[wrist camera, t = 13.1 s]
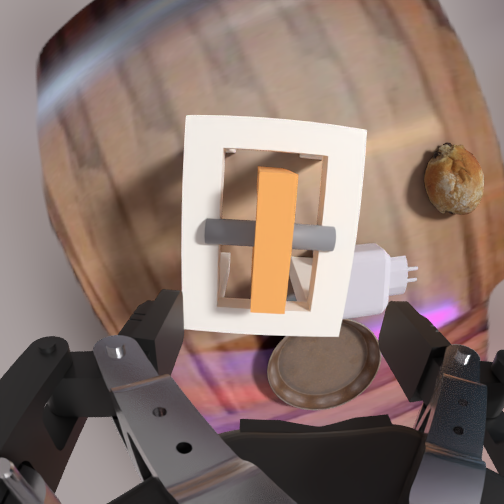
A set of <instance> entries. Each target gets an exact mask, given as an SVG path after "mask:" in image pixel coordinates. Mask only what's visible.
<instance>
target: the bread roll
mask: <svg viewBox="0 0 504 504" xmlns="http://www.w3.org/2000/svg"><path fill="white" fill-rule="evenodd" d="M439 149H440V150H438V151H437V152H434V155H433V158H432V159H431V160H430V161H429V162H428V165H427V169H426V172H425V177H424V183H425V190H426V191H427V194H428V197H429V199H430V201H431V203H432V204H433V205H434V206H435V207H436V208H437V210H438V211H440V212H441V213H445V211H448V212H449V213H452V214H453V213H455V214H459V215H464V214H469V213H471V212H472V211H474V210H475V208H476V207H477V206H478V205H479V203H480V201H481V198H482V194H483V189H484V175H483V172H482V170H481V167H480V165H479V163H478V161H477V160H476V158H475V157H474V156H473V154H472V153H470V152H468V151H467V150H466V149H465V148H464V146H463V145H458V146H457V145H451V143H445V144H443V145H442V146H441V147H440V148H439Z"/></svg>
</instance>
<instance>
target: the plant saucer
mask: <svg viewBox="0 0 504 504" xmlns="http://www.w3.org/2000/svg"><path fill="white" fill-rule="evenodd" d="M380 362H381V351H380V349H379V344H378V340H377V338H376V336H375V335H374V333H373V332H372V331H371V330H370V329H369V328H367V327H366V326H365V325H363V324H361V323H359V322H356V321H354V320H350V319H342V323H341V328H340V333H339V337H311V336H286V337H284V338H283V339H282V340H281V341H280V343H279V344H278V345H277V346H276V348H275V349H274V351H273V352H272V354H271V357H270V359H269V362H268V368H267V376H268V381H269V384H270V386H271V388H272V390H273V392H274V393H275V394H276V395H277V396H278V397H279V398H280V399H281V400H282V401H284V402H285V403H287V404H289V405H291V406H294V407H296V408H300V409H305V410H324V409H330V408H334V407H337V406H340V405H343V404H345V403H347V402H349V401H351V400H353V399H354V398H356V397H357V396H358V395H360V394H361V393H362V392H363V391H364V390H365V389H366V388H367V387H368V386H369V385H370V384H371V382H372V381H373V379H374V378H375V376H376V374H377V372H378V369H379V366H380Z"/></svg>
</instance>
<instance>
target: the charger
mask: <svg viewBox="0 0 504 504" xmlns="http://www.w3.org/2000/svg"><path fill="white" fill-rule="evenodd" d="M313 254H314V250H313ZM417 269H418V267H417V266H415V267H408V266H407V259H406V256H399V257H390V256H389V254H388V253H387V252H386V251H385V250H384V249H383V248H381V247H380V246H378V245H377V244H376V243H370V244H359V245H355V250H354V257H353V263H352V269H351V275H350V281H349V287H348V292H347V298H346V303H345V308H344V313H343V318H342V319H349V318H356V317H363V316H370V315H376V314H381V313H382V312H383V311H384V309H385V308H386V307H387V305H388V296H392V295H398V294H403V293H404V292H405V289H406V287H407V282H414V281H417V278H410V279H407V277H408V271H413V270H417Z"/></svg>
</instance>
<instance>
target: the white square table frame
mask: <svg viewBox="0 0 504 504" xmlns="http://www.w3.org/2000/svg"><path fill="white" fill-rule="evenodd" d="M366 135H367V130H364V129H358V128H352V127H345V126H338V125H331V124H324V123H316V122H307V121H298V120H287V119H276V118H262V117H245V116H219V115H186V125H185V142H184V161H183V187H182V293H183V313H184V329H188V330H199V331H211V332H224V333H239V334H256V335H278V336H311V337H339V333H340V328H341V323H342V318H343V313H344V308H345V303H346V298H347V292H348V287H349V281H350V275H351V269H352V263H353V257H354V250H355V243H356V236H357V229H358V221H359V213H360V204H361V195H362V186H363V175H364V164H365V151H366ZM236 149H243V150H260V151H274V152H286V153H297V154H300V156H299V158H309V159H319V160H323V162H322V174H321V186H320V197H319V208H318V218H317V225H309V224H295V223H294V231H293V241H292V249H302V250H314V254H313V258H306V257H291V261H290V270H289V276H290V279H291V283H292V286H293V290H294V293H295V297H296V300H297V301H286V306H285V314H270V313H252V312H250V308H251V299H241V298H226V297H224V295H225V290H226V285H227V281H228V276H229V272H230V253H224V252H221V245H237V246H254V241H255V226H256V221H250V220H233V219H222V207H223V186H224V167H225V153H236Z"/></svg>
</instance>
